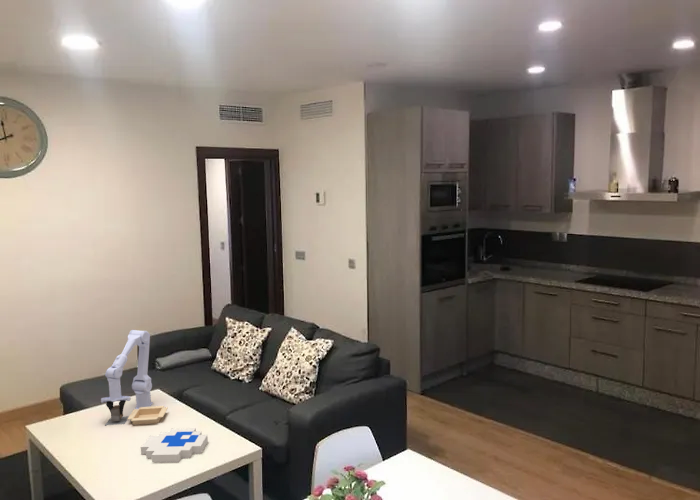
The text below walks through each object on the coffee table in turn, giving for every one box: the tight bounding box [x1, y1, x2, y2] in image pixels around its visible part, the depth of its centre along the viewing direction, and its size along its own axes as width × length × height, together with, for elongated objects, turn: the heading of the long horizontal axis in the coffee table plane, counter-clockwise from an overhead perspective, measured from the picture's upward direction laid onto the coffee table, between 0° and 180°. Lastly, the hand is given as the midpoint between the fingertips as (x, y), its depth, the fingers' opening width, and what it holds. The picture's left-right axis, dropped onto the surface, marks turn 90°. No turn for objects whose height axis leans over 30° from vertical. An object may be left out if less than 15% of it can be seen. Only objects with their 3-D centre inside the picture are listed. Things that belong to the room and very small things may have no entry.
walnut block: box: [110, 404, 124, 421], centre depth 309 cm, size 7×4×6 cm, turn 6°
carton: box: [127, 405, 169, 425], centre depth 311 cm, size 18×18×4 cm
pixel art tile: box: [140, 427, 209, 463], centre depth 277 cm, size 28×4×28 cm
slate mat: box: [104, 415, 130, 427], centre depth 310 cm, size 10×10×1 cm
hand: (117, 414), depth 310 cm, fingers closed on walnut block, 4 cm apart
